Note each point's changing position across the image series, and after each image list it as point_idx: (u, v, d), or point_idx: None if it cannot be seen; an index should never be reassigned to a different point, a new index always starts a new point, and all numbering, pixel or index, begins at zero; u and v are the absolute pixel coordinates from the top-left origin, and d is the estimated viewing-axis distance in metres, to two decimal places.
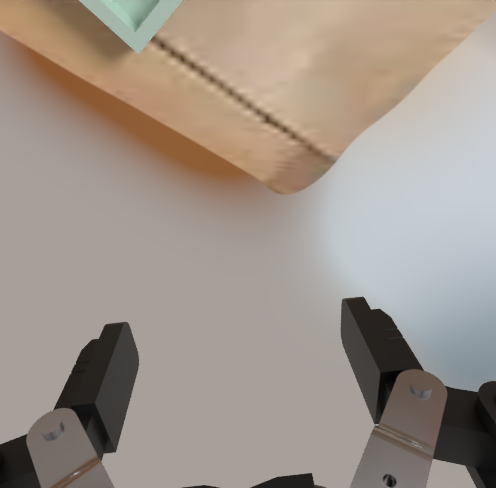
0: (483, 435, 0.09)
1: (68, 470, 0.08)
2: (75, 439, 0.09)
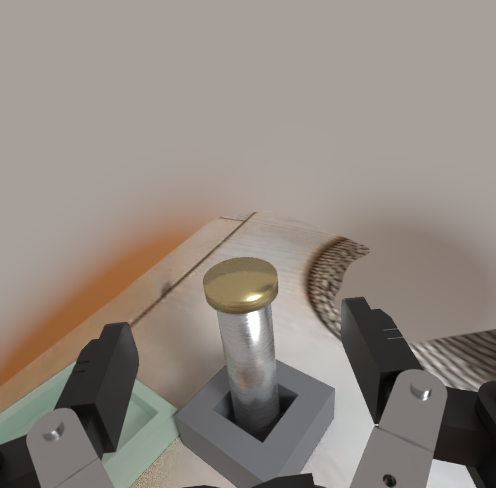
0: (483, 435, 0.09)
1: (68, 470, 0.08)
2: (75, 439, 0.09)
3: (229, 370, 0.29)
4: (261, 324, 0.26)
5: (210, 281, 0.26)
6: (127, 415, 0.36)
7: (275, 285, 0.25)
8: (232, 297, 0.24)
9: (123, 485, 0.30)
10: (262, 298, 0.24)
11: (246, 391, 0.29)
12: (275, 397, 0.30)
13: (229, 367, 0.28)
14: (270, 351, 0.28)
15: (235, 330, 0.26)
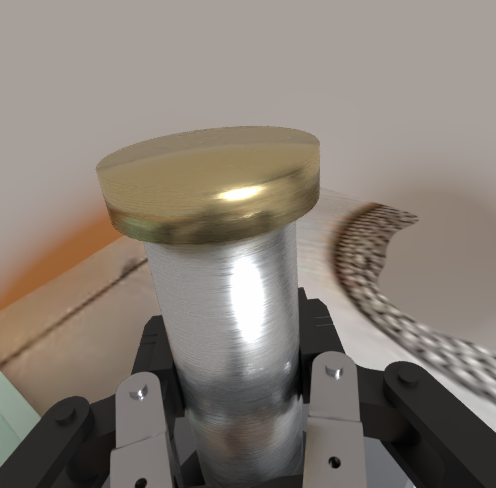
0: (386, 409, 0.10)
1: (140, 433, 0.09)
2: (162, 398, 0.10)
3: (189, 412, 0.12)
4: (269, 291, 0.09)
5: (120, 159, 0.09)
6: None
7: (316, 164, 0.08)
8: (172, 183, 0.07)
9: None
10: (276, 191, 0.07)
11: (229, 465, 0.12)
12: (298, 470, 0.13)
13: (188, 406, 0.11)
14: (292, 366, 0.11)
15: (194, 304, 0.09)
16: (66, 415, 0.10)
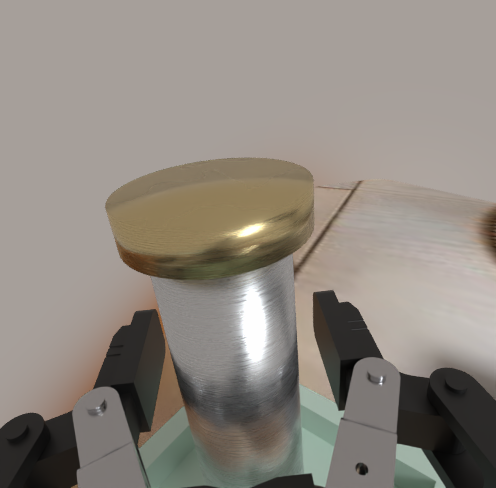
0: (432, 418, 0.09)
1: (104, 448, 0.09)
2: (119, 414, 0.10)
3: (192, 430, 0.12)
4: (268, 318, 0.09)
5: (128, 196, 0.09)
6: None
7: (310, 200, 0.09)
8: (176, 224, 0.07)
9: None
10: (272, 229, 0.08)
11: (232, 482, 0.12)
12: None
13: (191, 424, 0.12)
14: (291, 386, 0.11)
15: (197, 331, 0.09)
16: (19, 433, 0.09)
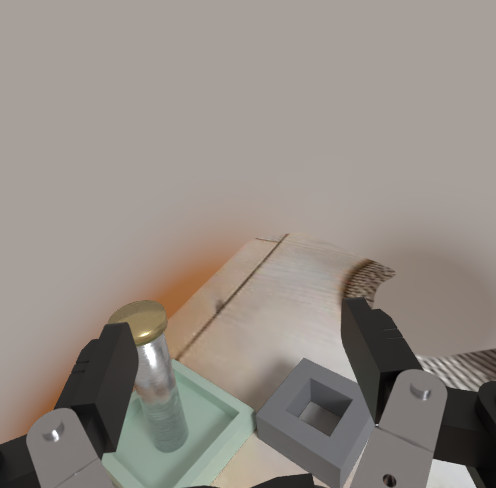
0: (483, 435, 0.09)
1: (68, 470, 0.08)
2: (75, 439, 0.09)
3: (135, 387, 0.37)
4: (152, 354, 0.34)
5: (113, 321, 0.34)
6: (210, 414, 0.44)
7: (160, 325, 0.33)
8: None
9: (218, 469, 0.38)
10: (147, 336, 0.32)
11: (148, 404, 0.37)
12: (175, 409, 0.39)
13: None
14: (165, 373, 0.36)
15: None
16: None
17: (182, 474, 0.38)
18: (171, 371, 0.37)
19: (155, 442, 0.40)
